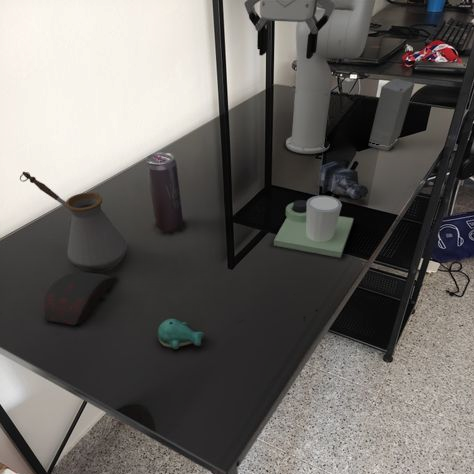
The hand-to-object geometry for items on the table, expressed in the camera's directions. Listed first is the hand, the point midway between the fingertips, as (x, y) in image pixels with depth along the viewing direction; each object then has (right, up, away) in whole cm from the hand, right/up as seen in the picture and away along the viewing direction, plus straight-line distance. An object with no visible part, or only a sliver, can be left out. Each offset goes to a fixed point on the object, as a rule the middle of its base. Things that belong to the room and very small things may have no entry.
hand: (286, 55), depth 86 cm
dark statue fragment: (+16, -21, +19) cm, 32 cm away
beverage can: (-25, -32, +9) cm, 41 cm away
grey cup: (+7, -35, +4) cm, 36 cm away
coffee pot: (-41, -40, +2) cm, 57 cm away
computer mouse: (-38, -50, -8) cm, 63 cm away
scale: (+7, -34, +6) cm, 35 cm away
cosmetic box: (+33, +1, +40) cm, 52 cm away
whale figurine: (-19, -58, -16) cm, 63 cm away
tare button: (+4, -28, +8) cm, 30 cm away
